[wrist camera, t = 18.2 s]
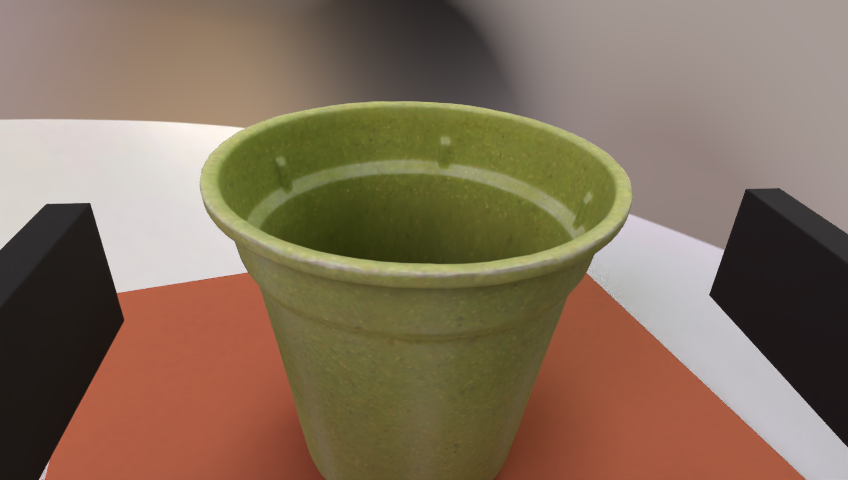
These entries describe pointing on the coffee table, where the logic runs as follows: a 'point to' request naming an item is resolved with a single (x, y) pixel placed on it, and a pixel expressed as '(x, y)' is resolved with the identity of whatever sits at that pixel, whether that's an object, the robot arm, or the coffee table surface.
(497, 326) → the plant pot
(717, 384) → the coffee table surface
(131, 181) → the coffee table surface
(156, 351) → the terracotta mat
